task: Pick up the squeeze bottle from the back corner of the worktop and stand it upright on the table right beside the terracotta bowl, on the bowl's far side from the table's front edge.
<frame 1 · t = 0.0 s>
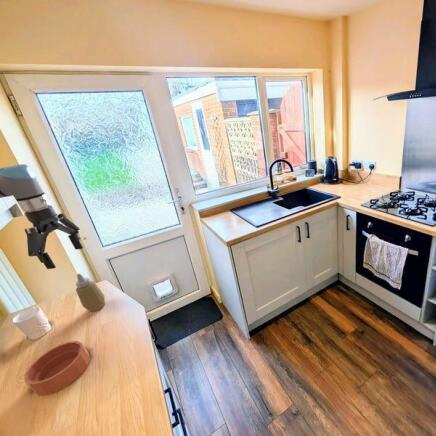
hand: (66, 257, 97), 27 cm above the countertop, tool pointing down, fingers open, 13 cm apart
bowl: (64, 372, 81), on the countertop
white cup: (40, 332, 98), on the countertop
squeeze bottle: (97, 307, 109), on the countertop
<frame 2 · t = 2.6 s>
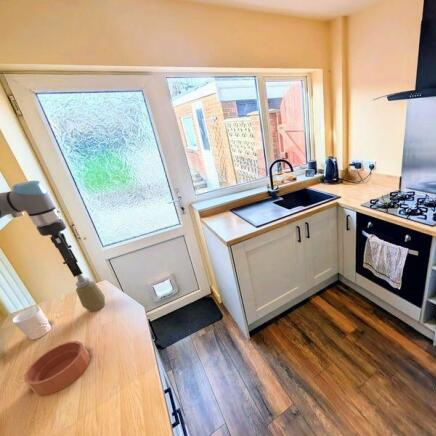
hand: (76, 268, 100), 21 cm above the countertop, tool pointing down, fingers open, 13 cm apart
nothing on the countertop moved.
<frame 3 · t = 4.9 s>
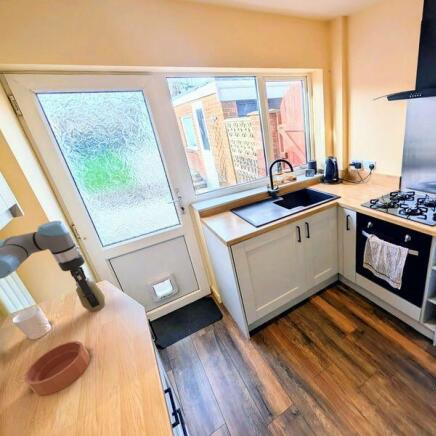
hand: (94, 301, 108), 3 cm above the countertop, tool pointing down, fingers closed on squeeze bottle, 8 cm apart
squeeze bottle: (97, 307, 109), on the countertop, touching gripper
everything else where it was.
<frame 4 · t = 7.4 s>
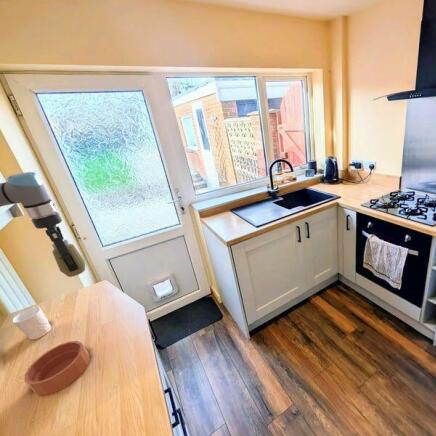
hand: (73, 266, 99), 22 cm above the countertop, tool pointing down, fingers closed on squeeze bottle, 8 cm apart
squeeze bottle: (77, 273, 101), point 19 cm above the countertop, touching gripper
everything else where it was.
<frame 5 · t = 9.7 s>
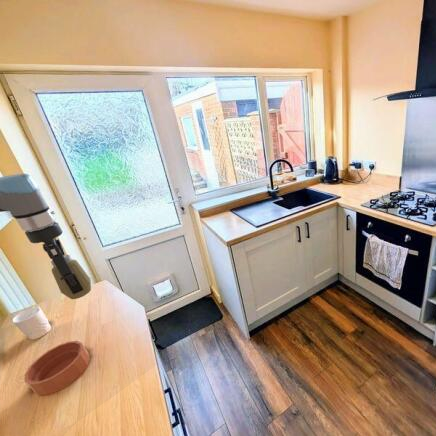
hand: (76, 286, 83), 25 cm above the countertop, tool pointing down, fingers closed on squeeze bottle, 8 cm apart
squeeze bottle: (81, 294, 84), point 21 cm above the countertop, touching gripper
everything else where it was.
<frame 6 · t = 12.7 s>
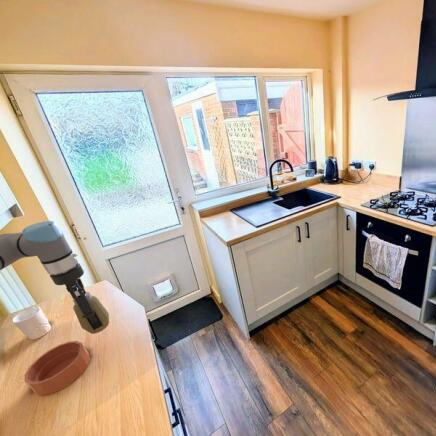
hand: (95, 320, 87), 10 cm above the countertop, tool pointing down, fingers closed on squeeze bottle, 8 cm apart
squeeze bottle: (100, 327, 88), point 7 cm above the countertop, touching gripper
everything else where it was.
when the fingers open (3 cm above the countertop, at t = 14.8 s): squeeze bottle stays where it is, on the countertop.
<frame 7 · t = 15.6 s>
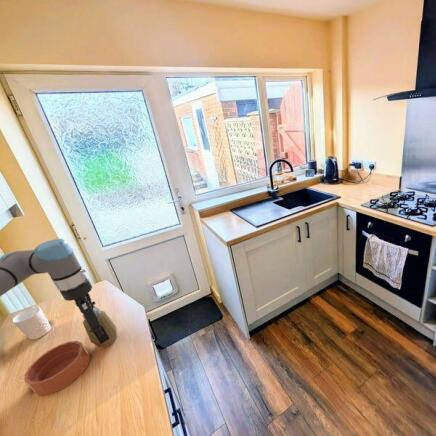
hand: (101, 330, 89), 6 cm above the countertop, tool pointing down, fingers open, 13 cm apart
squeeze bottle: (108, 341, 91), on the countertop
everything else where it was.
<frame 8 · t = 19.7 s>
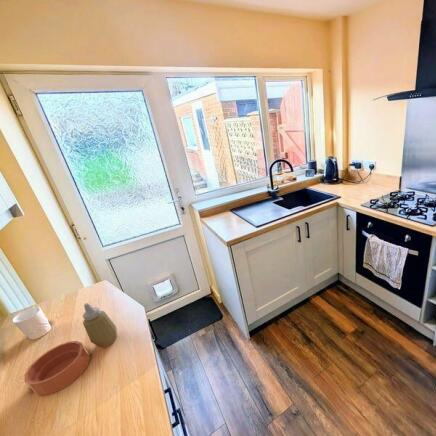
nothing on the countertop moved.
at the end: squeeze bottle inside the target area on the countertop beside the bowl (0.1 cm from its centre), on the countertop; squeeze bottle tilted 0°; the gripper is holding nothing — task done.
